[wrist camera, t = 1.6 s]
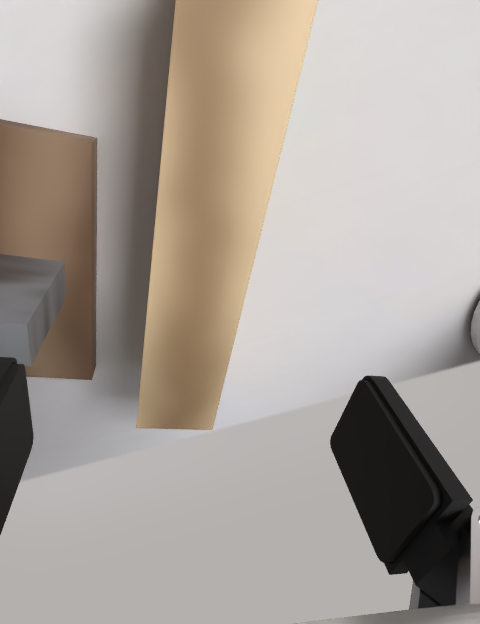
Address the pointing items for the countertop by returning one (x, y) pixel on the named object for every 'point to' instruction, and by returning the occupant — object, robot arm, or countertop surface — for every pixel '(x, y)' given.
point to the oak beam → (214, 192)
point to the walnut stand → (48, 250)
